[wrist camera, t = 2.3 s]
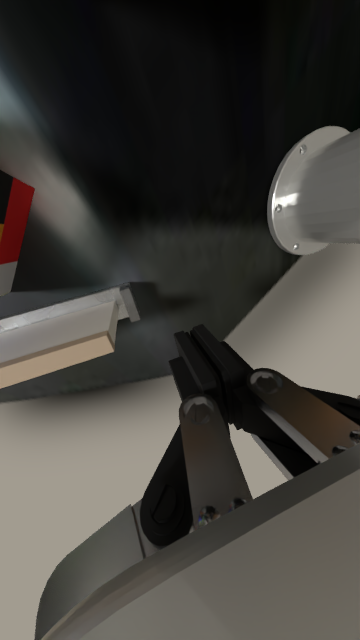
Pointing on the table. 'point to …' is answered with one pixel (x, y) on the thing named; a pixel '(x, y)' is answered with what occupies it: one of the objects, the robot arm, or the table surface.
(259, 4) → the table surface
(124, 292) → the rail
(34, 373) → the screen
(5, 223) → the puzzle toy
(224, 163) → the table surface
